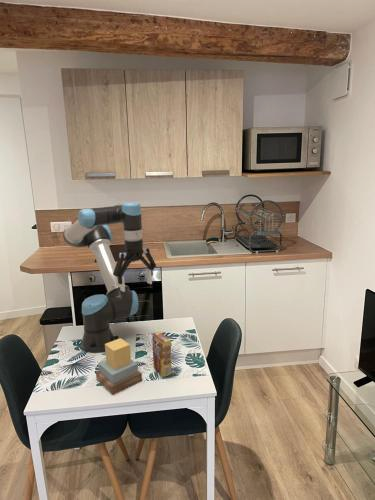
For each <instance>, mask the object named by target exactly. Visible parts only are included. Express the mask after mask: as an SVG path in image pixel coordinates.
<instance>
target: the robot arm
mask: <svg viewBox="0 0 375 500" xmlns="http://www.w3.org/2000/svg"><path fill="white" fill-rule="evenodd" d="M141 207H142V206H141V203H140V202H137V201H128V202H127V201H126V202H123V204H114V205H113V206H112V205H111V206H103V207H102V206H101V207H92V208H89V207H88V208H87V207H86V208H83V209H80V210H79V211H78V214H77V217H78V219H77V220H75V222H74V223H72V224H70V225H68V226H66V227H65V229H64V230H63V232H62V237H63V241H64V242H65V244H67V245H68V246H69V247H73V248H86V247H87V248H88V251H89V252H91V253H93V256H94V259H95V261H96V264H97V266H98V269H99V271H100V274H101V277H102V279H103V282H104V284H105V288H106V291H107V292H106V295H105V294H103V293H102V294H100V293H99V294H94V295H91V296H88V297H87V298H85V299H84V300H83V301H82V303H81V314H82V321H83V336H82V339H81V349H82V350H83V351H85V352H87V353H101V352H105V344H106V343H109V342H112V341H114V340H115V336H114V334H113V331H112V330H111V328H110V322H115V321H116V320H120V319H123V318H127V317H129V318H130V316H133V315H135V314H136V313H138V309H139V297H138V294H137V292H136V291H135V290H130V287H129V286H128V285H126V284H125V276H124V274H125V272H126V271H127V269H128V267H129V266H130V264H131V263H134V262H137V261H139V262H142V263H143V265H145V266H146V283H147V284H149V285H153V281H152V280H153V279H152V278H153V275H154V273H153V272H154V270H155V268H156V267H157V263H156V262H155V260H154V258H153V256H152V255H151V252H150V248H148V247H144V245H143V243H144V242H143V239H142V238H143V223H142V210H141V209H142V208H141ZM115 224H123V225H122V226H123V238H124V249H125V252H119V253H118V258H117V261H115V258H114V256H113V253H112V251H111V248H110V246H111V242H112V239H113V235H112V232H111V229H110V226H109V225H115ZM144 255H145V257H146V258H145V257H144Z"/></svg>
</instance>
